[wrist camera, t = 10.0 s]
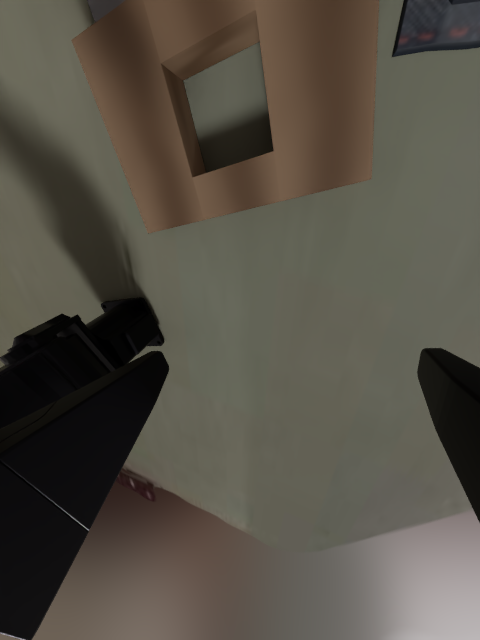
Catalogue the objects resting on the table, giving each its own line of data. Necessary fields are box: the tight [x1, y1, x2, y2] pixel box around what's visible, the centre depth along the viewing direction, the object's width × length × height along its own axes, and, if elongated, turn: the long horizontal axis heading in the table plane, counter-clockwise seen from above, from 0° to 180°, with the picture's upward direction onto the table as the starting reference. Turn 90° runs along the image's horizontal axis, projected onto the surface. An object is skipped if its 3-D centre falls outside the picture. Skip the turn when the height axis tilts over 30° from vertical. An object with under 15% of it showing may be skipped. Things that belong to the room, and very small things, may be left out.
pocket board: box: [72, 0, 379, 233], centre depth 14 cm, size 16×11×3 cm
